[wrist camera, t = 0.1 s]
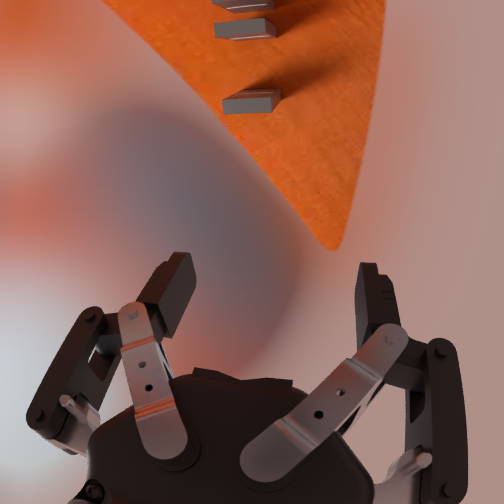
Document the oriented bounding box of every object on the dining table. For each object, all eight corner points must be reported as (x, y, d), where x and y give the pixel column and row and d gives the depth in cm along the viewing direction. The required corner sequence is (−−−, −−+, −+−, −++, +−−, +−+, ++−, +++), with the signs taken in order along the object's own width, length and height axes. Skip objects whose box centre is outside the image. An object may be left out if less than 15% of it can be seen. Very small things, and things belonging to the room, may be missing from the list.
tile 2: (235, 29, 30) (213, 23, 23) (275, 26, 29) (264, 17, 22) (237, 41, 31) (215, 38, 24) (276, 38, 30) (265, 33, 23)
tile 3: (233, 2, 28) (210, -11, 21) (273, -2, 27) (261, -17, 20) (234, 13, 29) (212, 3, 22) (274, 10, 28) (262, -3, 21)
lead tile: (241, 89, 35) (222, 99, 28) (280, 88, 34) (270, 96, 27) (242, 102, 36) (223, 115, 29) (281, 100, 35) (271, 112, 28)
